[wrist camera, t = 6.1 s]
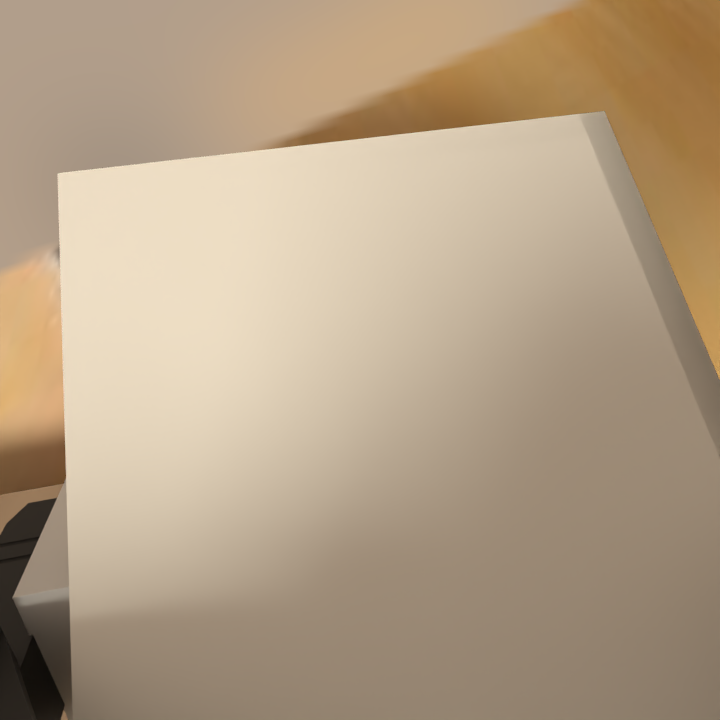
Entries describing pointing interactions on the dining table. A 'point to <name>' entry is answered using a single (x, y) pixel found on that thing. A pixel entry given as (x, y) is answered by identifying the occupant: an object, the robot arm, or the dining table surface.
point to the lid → (386, 436)
